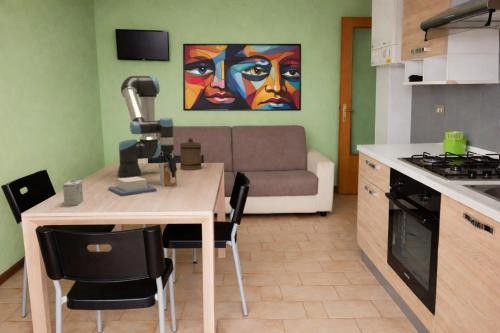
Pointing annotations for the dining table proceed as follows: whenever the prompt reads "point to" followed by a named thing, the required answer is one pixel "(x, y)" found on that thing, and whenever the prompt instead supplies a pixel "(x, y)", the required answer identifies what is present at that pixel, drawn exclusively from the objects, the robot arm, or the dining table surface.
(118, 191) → the build board
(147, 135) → the robot arm
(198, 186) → the dining table surface
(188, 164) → the wooden container
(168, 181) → the small box
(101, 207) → the dining table surface
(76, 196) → the light bulb box
